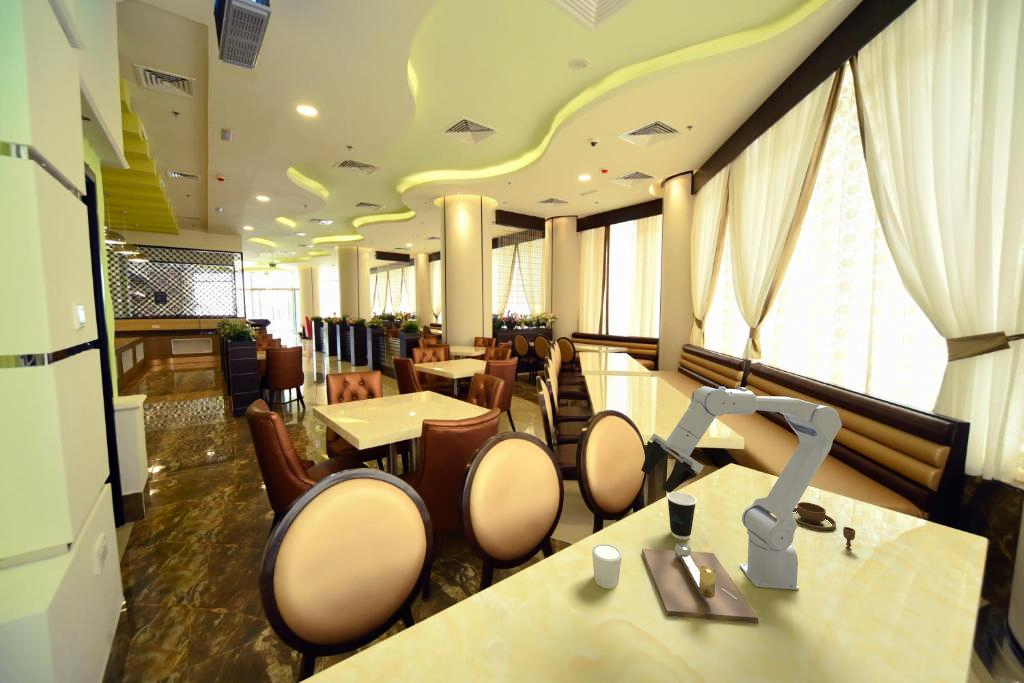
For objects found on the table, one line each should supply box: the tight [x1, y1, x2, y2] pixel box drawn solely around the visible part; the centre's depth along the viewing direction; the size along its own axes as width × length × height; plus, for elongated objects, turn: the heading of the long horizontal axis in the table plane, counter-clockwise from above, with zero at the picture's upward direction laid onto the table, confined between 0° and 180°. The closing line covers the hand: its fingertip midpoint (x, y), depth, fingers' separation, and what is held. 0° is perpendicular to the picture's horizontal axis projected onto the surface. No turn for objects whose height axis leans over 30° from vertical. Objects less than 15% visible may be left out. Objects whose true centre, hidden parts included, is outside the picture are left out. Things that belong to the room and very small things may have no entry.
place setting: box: [793, 501, 856, 551], centre depth 115 cm, size 18×20×6 cm
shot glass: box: [591, 543, 623, 589], centre depth 91 cm, size 7×7×7 cm
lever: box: [674, 542, 716, 598], centre depth 89 cm, size 4×18×7 cm, turn 174°
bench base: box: [641, 548, 760, 624], centre depth 90 cm, size 18×22×1 cm
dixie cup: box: [666, 491, 698, 541], centre depth 110 cm, size 8×8×11 cm
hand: (654, 481), depth 89 cm, fingers open, 7 cm apart
